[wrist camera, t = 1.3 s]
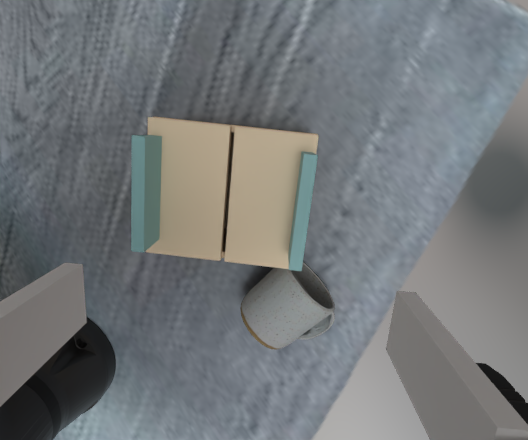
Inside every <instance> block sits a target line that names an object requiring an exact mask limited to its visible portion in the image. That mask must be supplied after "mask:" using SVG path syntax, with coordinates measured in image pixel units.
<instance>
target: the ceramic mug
mask: <svg viewBox="0 0 528 440" xmlns="http://www.w3.org/2000/svg"><path fill="white" fill-rule="evenodd" d="M334 309H335V304H334V302H333V299H332V297H331V295H330V293H329V291H328V290H327V288H326V287H325V285H324V284H323V282H322V281H321V280H320V278H319V277H318V276H317V275H316V274H315V273H314V272H313V271H312V270H311V269H310V268H309V267H308V266H307V265H306V264H305V263H304V262H303V264H302V271H295V270H289V269H283V268H275V267H274V268H273V269H272V270H271V271H270V272H269V273H268V274H267V275H266V276H265V277H264V278H263V279H262V280H261V281H260V282H259V283H258V284H257V285H255V286H254V287H253V288H252V289H251V290H250V291H249V292H248V294H247V295H246V296H245V298H244V299H243V301H242V303H241V316H242V319H243V322H244V324H245V326H246V327H247V329H248V331H249V332H250V333H251V335H252V336H253V337H254V338H255V339H256V340H257V341H258V342H260V343H261V344H262V345H264V346H265V347H268V348H270V349H281V348H283V347H285V346H287V345H289V344H290V343H292V342H293V341H295V340H296V339H303V340H305V339H311V338H314V337H317V336H319V335H321V334H322V333H324V332H325V331H327V330H328V329H329V328H330V327H331V326H332V324H333V323H334V319H335V316H334V315H335V314H334Z"/></svg>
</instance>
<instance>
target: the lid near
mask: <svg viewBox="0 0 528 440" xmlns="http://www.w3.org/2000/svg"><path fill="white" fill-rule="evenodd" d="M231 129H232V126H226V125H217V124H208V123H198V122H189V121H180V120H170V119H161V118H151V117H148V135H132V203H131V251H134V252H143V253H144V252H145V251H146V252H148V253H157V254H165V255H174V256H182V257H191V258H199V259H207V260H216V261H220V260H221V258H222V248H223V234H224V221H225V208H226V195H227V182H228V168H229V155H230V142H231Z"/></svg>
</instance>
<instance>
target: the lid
mask: <svg viewBox="0 0 528 440" xmlns="http://www.w3.org/2000/svg"><path fill="white" fill-rule="evenodd" d="M318 136H319V135H311V134H301V133H292V132H283V131H273V130H264V129H254V128H245V127H236V126H235V134H234V147H233V160H232V173H231V185H230V198H229V211H228V224H227V236H226V249H225V262H233V263H241V264H250V265H258V266H266V267H275V268H283V269H289V270H295V271H302V264H303V257H304V250H305V243H306V236H307V229H308V222H309V215H310V208H311V201H312V194H313V187H314V180H315V173H316V166H317V159H318V155H316V151H317V144H318Z"/></svg>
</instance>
